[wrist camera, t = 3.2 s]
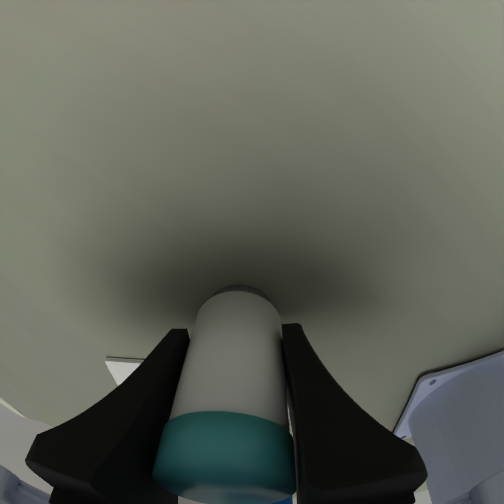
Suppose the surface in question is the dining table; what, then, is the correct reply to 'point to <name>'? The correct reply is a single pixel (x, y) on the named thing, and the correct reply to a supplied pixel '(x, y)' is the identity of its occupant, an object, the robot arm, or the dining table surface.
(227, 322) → the white teal capped bottle
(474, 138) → the dining table surface
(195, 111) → the dining table surface
